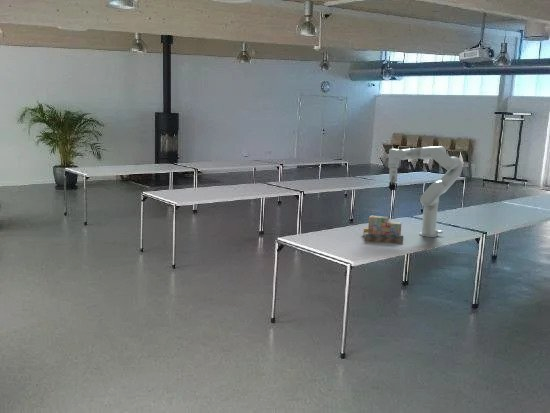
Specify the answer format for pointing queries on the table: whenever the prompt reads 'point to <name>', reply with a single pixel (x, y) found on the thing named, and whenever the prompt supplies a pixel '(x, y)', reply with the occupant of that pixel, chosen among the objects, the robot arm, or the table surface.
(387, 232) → the stack of blocks
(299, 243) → the table surface
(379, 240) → the dock
